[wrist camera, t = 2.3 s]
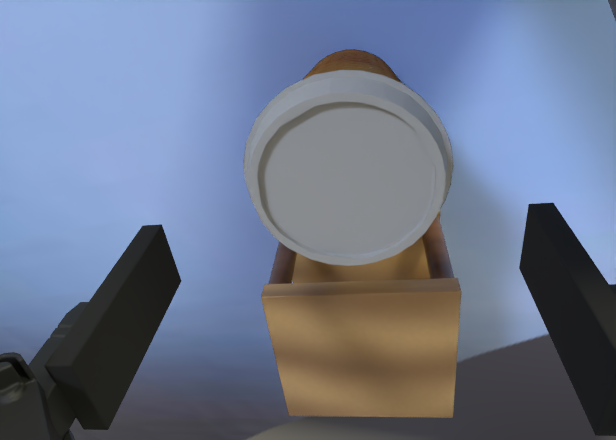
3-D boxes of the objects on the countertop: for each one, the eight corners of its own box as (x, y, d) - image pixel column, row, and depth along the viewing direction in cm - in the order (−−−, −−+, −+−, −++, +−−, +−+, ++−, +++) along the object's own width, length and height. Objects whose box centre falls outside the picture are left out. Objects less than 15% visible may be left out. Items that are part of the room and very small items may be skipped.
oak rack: (283, 211, 36) (260, 297, 28) (438, 202, 34) (461, 291, 26) (302, 320, 42) (288, 416, 34) (434, 317, 40) (453, 418, 32)
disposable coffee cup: (251, 111, 32) (199, 201, 22) (338, -15, 27) (325, 26, 17) (360, 189, 34) (359, 303, 24) (457, 86, 29) (507, 175, 19)
